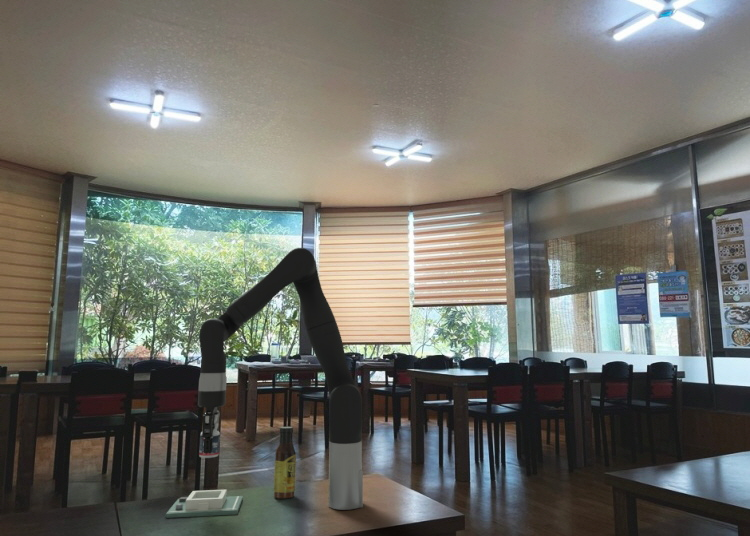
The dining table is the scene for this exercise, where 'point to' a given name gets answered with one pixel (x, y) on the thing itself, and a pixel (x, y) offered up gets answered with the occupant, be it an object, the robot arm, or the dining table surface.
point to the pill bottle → (214, 446)
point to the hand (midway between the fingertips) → (209, 450)
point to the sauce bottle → (285, 465)
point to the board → (205, 504)
